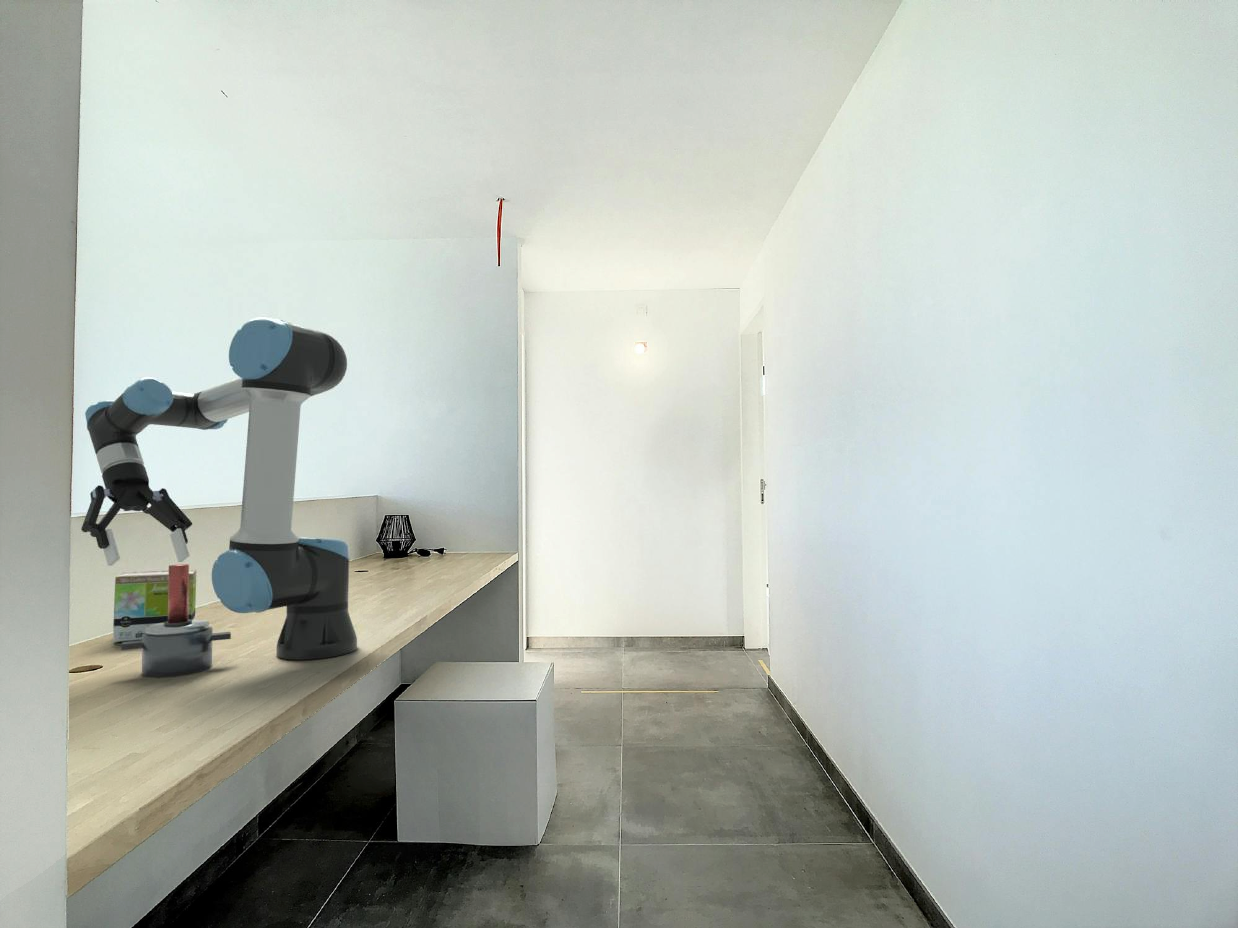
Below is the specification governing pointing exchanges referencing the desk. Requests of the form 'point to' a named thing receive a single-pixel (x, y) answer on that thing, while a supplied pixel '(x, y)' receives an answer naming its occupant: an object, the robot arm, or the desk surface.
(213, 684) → the desk surface
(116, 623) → the tea box
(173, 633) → the lid
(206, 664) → the pot
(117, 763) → the desk surface
